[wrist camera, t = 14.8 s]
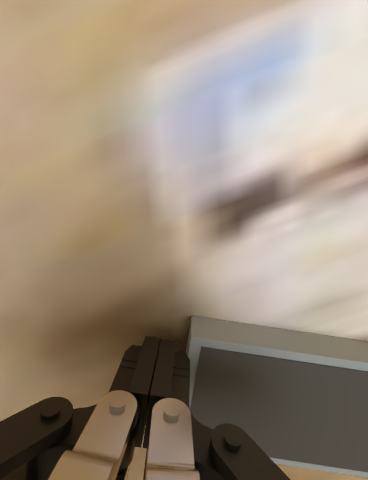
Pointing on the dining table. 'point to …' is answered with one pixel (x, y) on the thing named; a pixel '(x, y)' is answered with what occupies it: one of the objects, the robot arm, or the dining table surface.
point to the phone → (283, 392)
